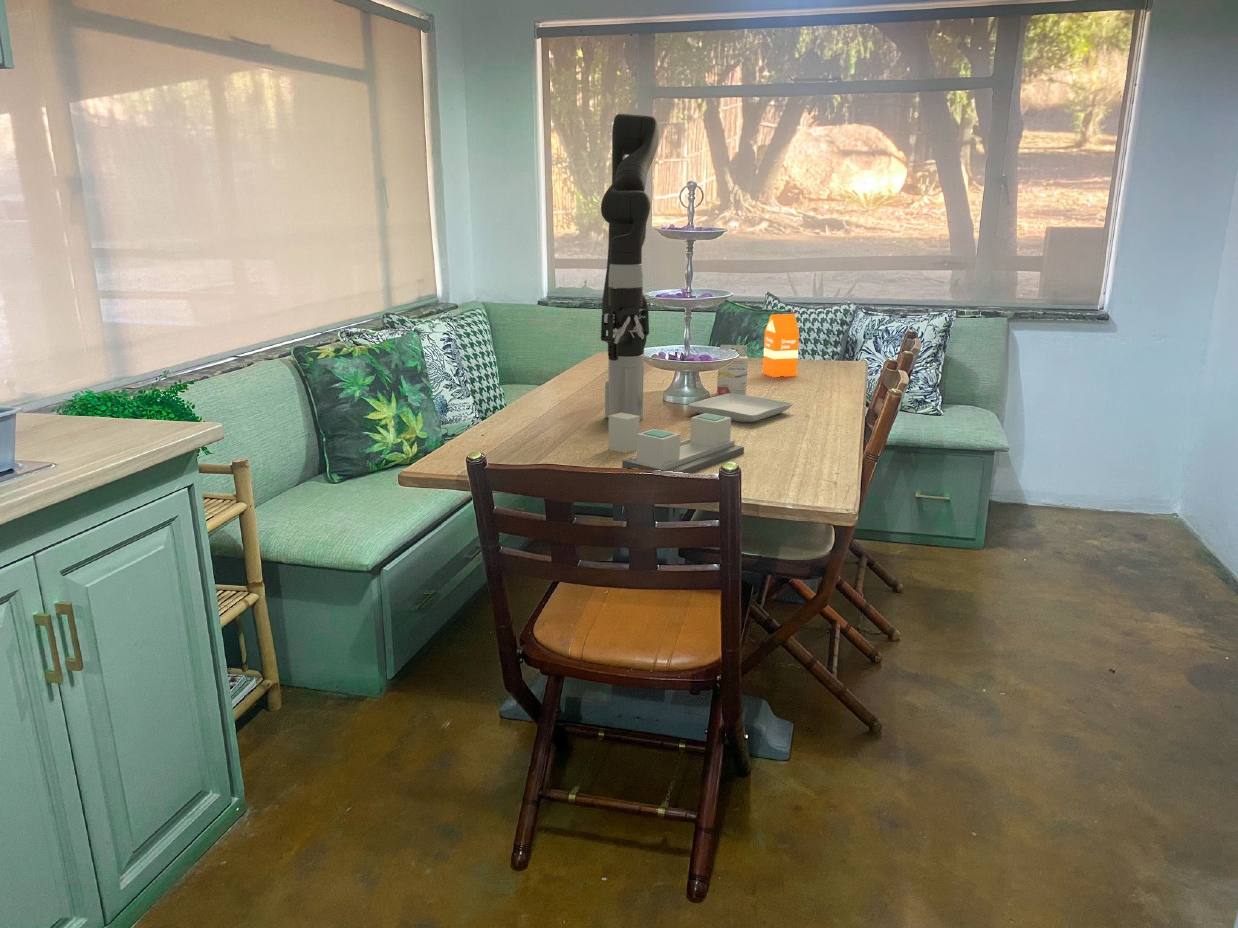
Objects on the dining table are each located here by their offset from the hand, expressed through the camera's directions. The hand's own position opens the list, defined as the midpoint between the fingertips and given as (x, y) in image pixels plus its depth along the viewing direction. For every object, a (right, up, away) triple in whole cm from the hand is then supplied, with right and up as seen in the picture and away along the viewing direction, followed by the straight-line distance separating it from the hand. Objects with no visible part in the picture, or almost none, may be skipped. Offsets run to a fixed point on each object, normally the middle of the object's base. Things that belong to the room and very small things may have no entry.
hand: (625, 357), depth 203 cm
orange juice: (+52, +6, +98) cm, 111 cm away
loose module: (0, -21, +6) cm, 22 cm away
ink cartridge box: (+32, -4, +65) cm, 73 cm away
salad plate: (+32, -11, +42) cm, 54 cm away
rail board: (+13, -23, -2) cm, 27 cm away
